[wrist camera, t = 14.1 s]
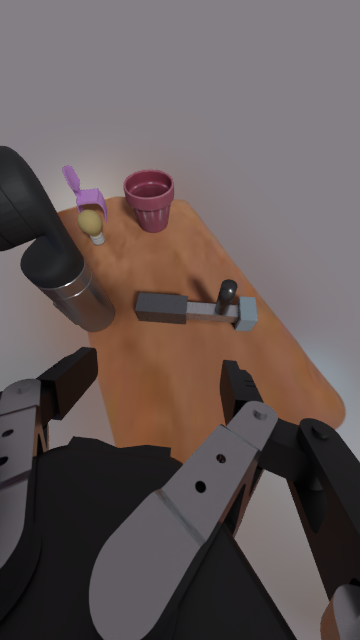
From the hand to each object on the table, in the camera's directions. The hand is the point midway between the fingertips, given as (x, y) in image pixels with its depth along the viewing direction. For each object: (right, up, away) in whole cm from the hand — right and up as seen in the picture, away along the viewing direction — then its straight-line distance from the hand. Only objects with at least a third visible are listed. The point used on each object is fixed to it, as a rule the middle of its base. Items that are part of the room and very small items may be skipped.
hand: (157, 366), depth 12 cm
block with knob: (+8, +4, +36) cm, 37 cm away
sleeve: (-3, +5, +37) cm, 37 cm away
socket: (+17, +3, +36) cm, 40 cm away
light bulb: (-24, +27, +49) cm, 62 cm away
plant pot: (-7, +35, +53) cm, 64 cm away
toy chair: (-28, +38, +55) cm, 73 cm away
